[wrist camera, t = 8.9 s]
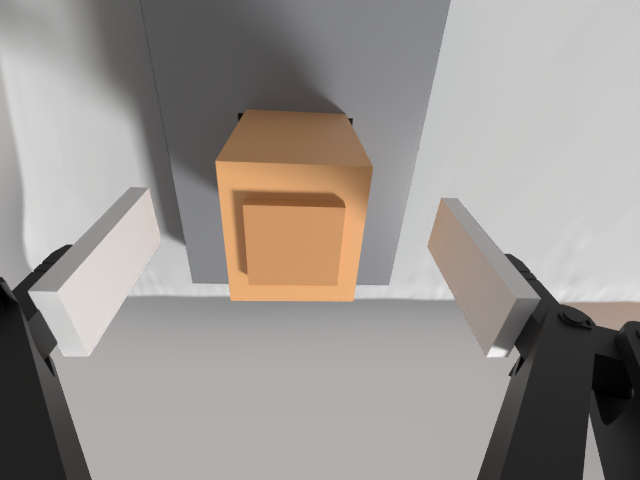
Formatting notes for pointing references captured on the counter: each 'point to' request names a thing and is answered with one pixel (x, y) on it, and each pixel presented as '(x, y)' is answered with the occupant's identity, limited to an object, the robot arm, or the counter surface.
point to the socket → (293, 98)
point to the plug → (293, 206)
